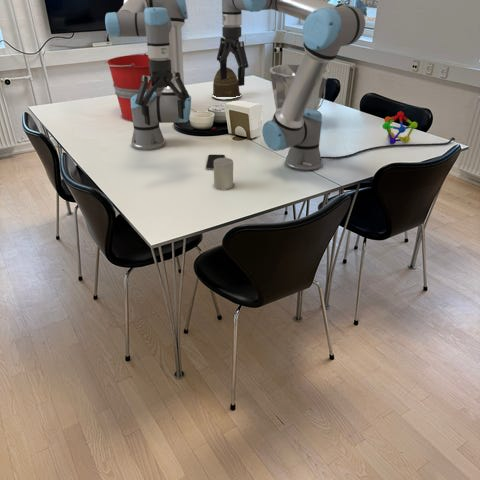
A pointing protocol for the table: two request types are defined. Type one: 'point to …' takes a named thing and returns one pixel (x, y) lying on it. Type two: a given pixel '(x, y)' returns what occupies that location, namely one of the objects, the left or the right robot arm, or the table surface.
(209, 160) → the smartphone
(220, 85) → the bell
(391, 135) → the educational toy
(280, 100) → the bucket
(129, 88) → the bucket
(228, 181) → the can
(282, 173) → the table surface
